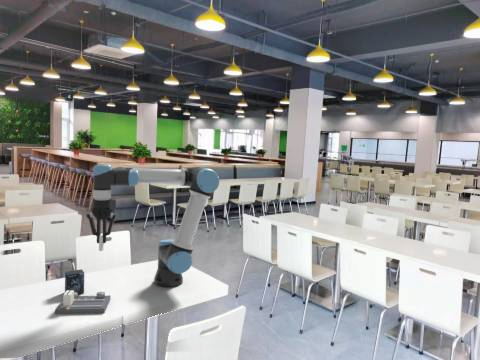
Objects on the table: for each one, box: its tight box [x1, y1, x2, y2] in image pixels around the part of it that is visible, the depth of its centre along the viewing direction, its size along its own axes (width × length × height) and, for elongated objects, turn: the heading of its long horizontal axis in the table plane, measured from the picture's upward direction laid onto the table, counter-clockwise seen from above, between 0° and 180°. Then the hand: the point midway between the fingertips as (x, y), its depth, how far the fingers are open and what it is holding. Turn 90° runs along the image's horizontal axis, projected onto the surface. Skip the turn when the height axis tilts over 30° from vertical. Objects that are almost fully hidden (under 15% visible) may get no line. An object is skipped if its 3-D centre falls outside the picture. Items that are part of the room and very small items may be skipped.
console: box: [54, 291, 112, 315], centre depth 167 cm, size 20×14×4 cm
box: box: [64, 269, 85, 295], centre depth 181 cm, size 8×6×11 cm
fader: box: [62, 290, 74, 306], centre depth 164 cm, size 3×5×5 cm, turn 9°
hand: (101, 250), depth 171 cm, fingers closed
